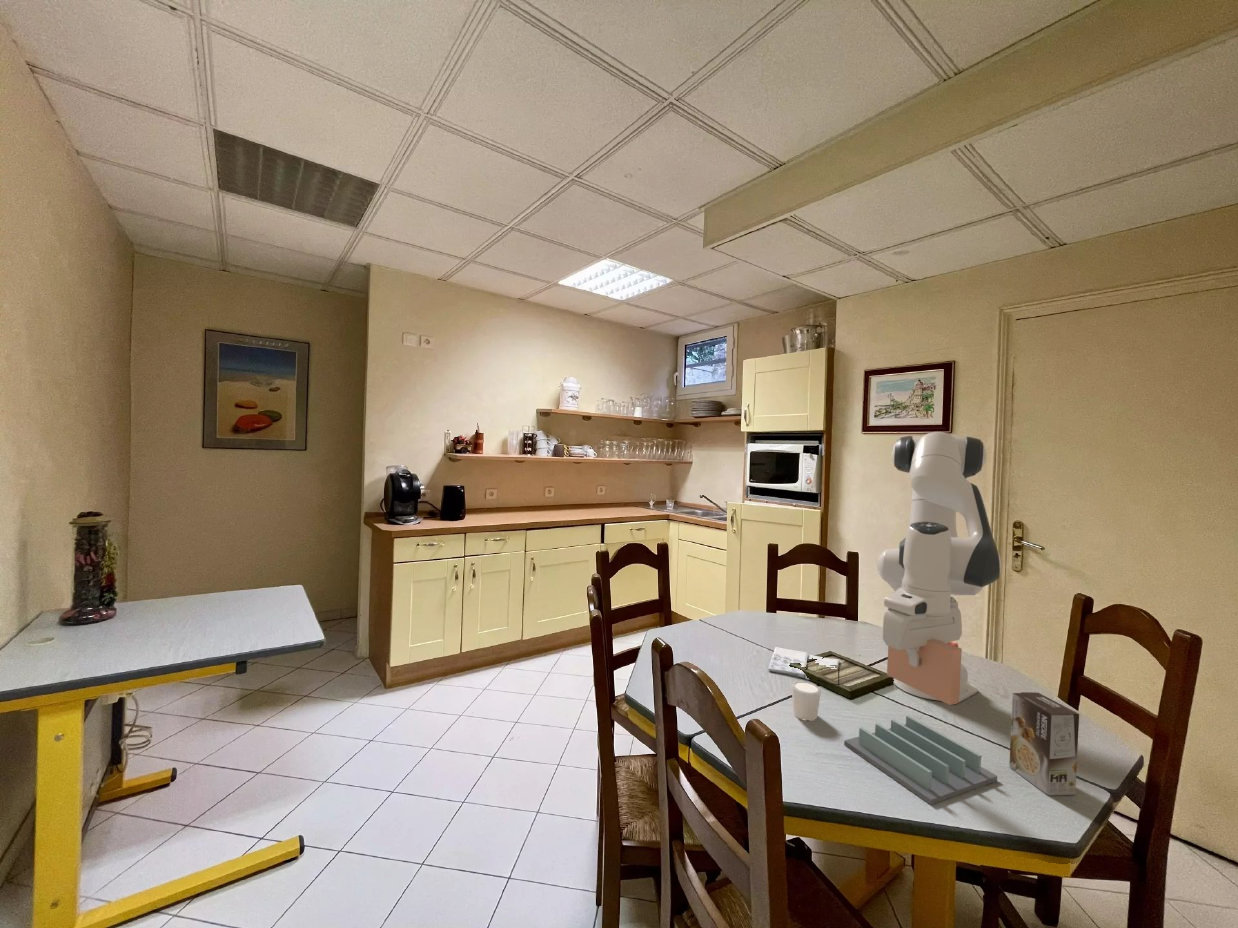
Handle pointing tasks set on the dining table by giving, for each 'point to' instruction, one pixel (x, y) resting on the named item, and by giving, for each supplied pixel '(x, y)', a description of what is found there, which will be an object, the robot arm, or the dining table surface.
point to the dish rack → (922, 759)
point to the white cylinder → (805, 700)
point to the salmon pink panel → (929, 670)
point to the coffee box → (1044, 743)
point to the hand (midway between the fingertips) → (921, 664)
